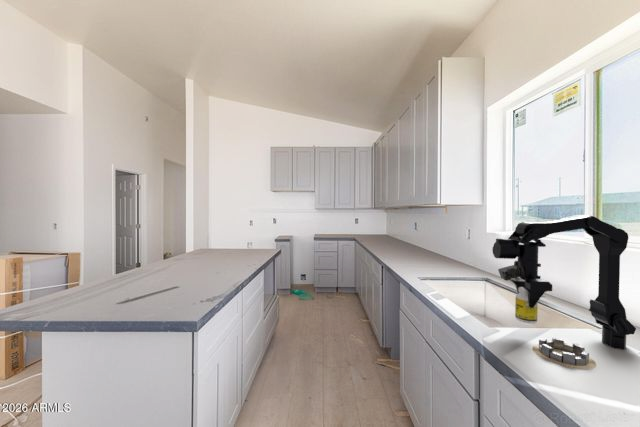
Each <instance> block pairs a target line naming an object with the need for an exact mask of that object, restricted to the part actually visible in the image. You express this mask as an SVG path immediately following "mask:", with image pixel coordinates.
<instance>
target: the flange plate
mask: <svg viewBox="0 0 640 427" xmlns="http://www.w3.org/2000/svg"><path fill="white" fill-rule="evenodd" d="M532 351H533V353H534V354H536V355H537V356H539V357H540V358H542V359H544V360H546V361H548V362H550V363H552V364H555V365H559V366H562V367H567V368H571V369H577V370H593V369H596V367H597V362H595V360H594V359H593V358H591V357H590V356H589V363H588V364H587V365H585V366H576V365H575V366H573V365H568V364H563V363H560V362H557V361H554V360H552V359H550V358H547V357H546V356H544V355H543V354H541V353H540V351H539V343H538V344H535V345H533V346H532ZM562 351H563V352H567V351H564V350H559V349H554V348H553V352H556V353H559V354H561V355H562ZM568 353H570V352H568ZM575 357H579V356H577V355H575Z"/></svg>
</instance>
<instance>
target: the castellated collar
mask: <svg viewBox="0 0 640 427" xmlns="http://www.w3.org/2000/svg"><path fill="white" fill-rule="evenodd" d="M551 338H552V339H551V340H548V339H547V338H545V337H541V338H540V339H538V344H539V351H540V353H541V354H543V355H544V356H546V357H547V358H550V359H552V360H554V361H557V362H560V363H563V364H568V365H573V366H575V365H576V366H585V365H587V364H588V363H589V357H590V352H588V351H585V350H586V349H585V347H584V346H582V345H580V344H578V343H572V344H569V343H565V340H564V339H561V338H557V337H551ZM553 348H554V349H559V350H564V351H567V352H563V351H562V355H561V354H559V353H556V352H553ZM568 352H570V353H568ZM575 355H577V356H579V357H575Z"/></svg>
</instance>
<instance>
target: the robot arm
mask: <svg viewBox="0 0 640 427" xmlns="http://www.w3.org/2000/svg"><path fill="white" fill-rule="evenodd" d="M581 229H582V230H583V231H584V232H585V233H586V234H587V235H589V236H590V237H592V241H593V245H594V248H595V249H596V251H597V252H598V255H599V256H598V293H597V294H598V295H597V296H596V298H595V299H590V300H589V309H588V311H589V312H590V315H591V316H592V317H593V318H594V320H595V323H596V324H598V325H600V326H602V327H601V343H602V344H604V345H606V346H609V347H611V348H613V349H617V350H623V351H625V350H626V348H627V336H629V335H634V334H635V332H636V330H637V327H636V326H634V325H633V324H632V323H631V322H630V321H629V320H628V319H627V313H626V309H625V307H624V306H623V303H622V301H621V299H620V278H621V277H620V275H621V274H620V273H621V271H620V268H621V255H622V254H623V253H624V252H625V250H626V249H627V246H628V243H629V242H628V241H629V233H628V232H627V231H625V230H624V229H622V228H618V227H616V226H614V225H612V224H610V223H607V222H605V221H603V220H601V219H599V218H598V217H596V216H593V215H580V216H578V217H577V216H574V217H571V218H570V217H569V218H563V219H557V220H552V221H546V222H535V221H534V222H533V221H532V222H531V221H529V222H528V221H527V222H526V221H524V222H523V221H522V222H519V223H518V224H517V225H516V226H515V230H514V231H513V233H512V234H510V236H509V237H508V238H507V239H506V238H504V239H503V238H496V239H495V242H494V243H493V246H492V255H493V257H494V258H495V259H504V260H506V259H507V260H508V259H509V260H510V259H511V260H514V259H517V260H514V262H513V265H512V264H511V265H508V266H505V267H501V268H498V269H497V271H498V273H499V277H500V278H501V279H503V280H504V281H510V282H511V283H512V284H514V286H515V289H516V292H517V294H518V293H519V291H518V289H519V287H523V288H524V289H525V290H526V291H527V293H528V302H529V307H530V308H534V306H535V305H536V303H537V302H538V303H539V300H540V299H541V298H542V296H543V295H544V294H545V293H546V292H553V283H552V282H550V281H547V280H545V279H543V278H541V275H539V274H538V273H539V268H540V267H542V265H541V263H539V248H541V247H543V248H545V247H546V246H547V245H546V244H545V243H544V242H543V241H542V240H541V239H543V238H546V237H548V236H549V235H552V234H558V233H562V232H563V233H564V232H571V231H576V230H577V231H578V230H581Z"/></svg>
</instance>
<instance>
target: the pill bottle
mask: <svg viewBox="0 0 640 427" xmlns="http://www.w3.org/2000/svg"><path fill="white" fill-rule="evenodd" d="M518 291H519V293H517V294H515V311H514V312H515V314H514V316H515V319H516V320H517V321H519V322H520V323H521V322H522V323H525V324H532V325H533V324H536V323H538V307H539V306H538V304H539V301H538V302H537V303H536V305H535V306H534V308H530V307H529V302H528V293H527V291H526V290H525V289H524V288H523V287H519V289H518Z"/></svg>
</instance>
